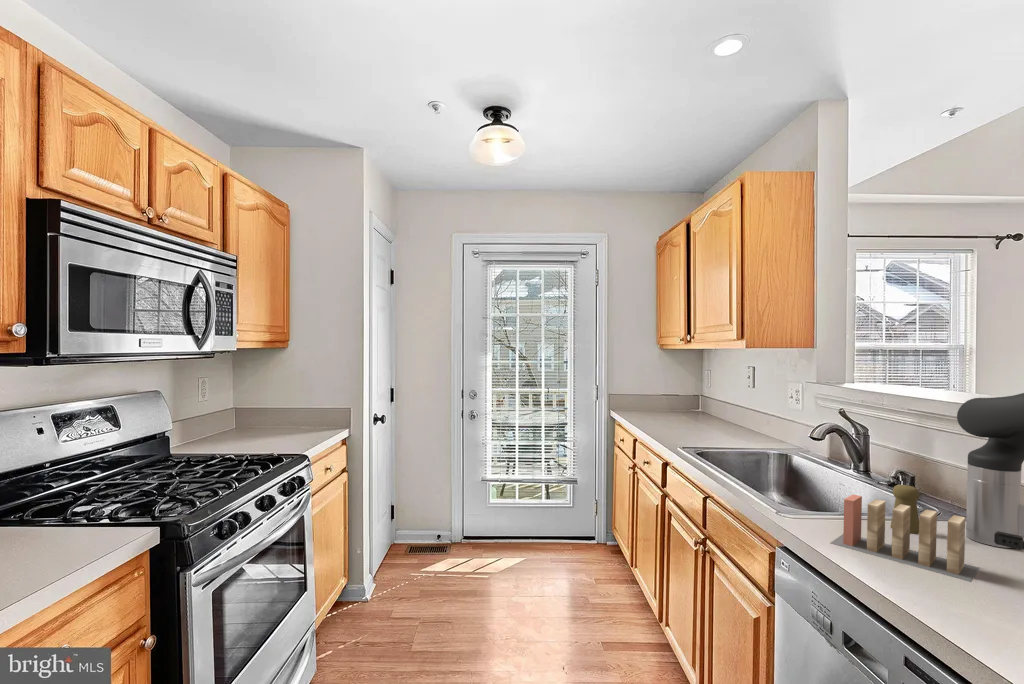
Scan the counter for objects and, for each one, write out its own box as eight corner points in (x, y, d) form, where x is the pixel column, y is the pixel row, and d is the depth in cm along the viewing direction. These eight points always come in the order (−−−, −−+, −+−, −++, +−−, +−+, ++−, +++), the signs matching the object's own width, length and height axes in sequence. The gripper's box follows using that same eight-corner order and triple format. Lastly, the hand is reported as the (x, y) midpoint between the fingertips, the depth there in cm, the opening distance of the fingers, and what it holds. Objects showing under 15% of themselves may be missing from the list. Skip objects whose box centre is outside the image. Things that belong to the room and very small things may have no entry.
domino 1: (861, 539, 119) (861, 496, 119) (852, 546, 115) (853, 501, 115) (851, 537, 120) (852, 494, 120) (843, 543, 116) (844, 499, 116)
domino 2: (884, 546, 116) (885, 501, 116) (876, 552, 112) (877, 506, 112) (874, 543, 117) (875, 499, 117) (866, 550, 113) (867, 504, 113)
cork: (926, 536, 123) (927, 490, 123) (897, 534, 124) (898, 488, 124) (912, 527, 129) (913, 483, 129) (885, 525, 130) (885, 481, 130)
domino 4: (936, 559, 109) (937, 511, 109) (929, 567, 105) (930, 517, 105) (925, 556, 110) (926, 509, 110) (918, 564, 106) (919, 515, 106)
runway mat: (979, 569, 105) (979, 567, 105) (970, 583, 99) (970, 581, 99) (844, 534, 123) (844, 533, 123) (829, 544, 117) (829, 543, 117)
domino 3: (909, 552, 112) (910, 506, 112) (902, 559, 108) (903, 511, 108) (899, 549, 114) (900, 504, 114) (891, 556, 110) (892, 509, 110)
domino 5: (964, 566, 105) (965, 517, 105) (958, 574, 101) (959, 523, 101) (952, 563, 107) (953, 515, 107) (946, 571, 103) (947, 521, 103)
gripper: (1135, 535, 91) (999, 511, 104) (1137, 554, 82) (989, 524, 95) (1134, 578, 91) (999, 548, 104) (1137, 602, 82) (989, 565, 95)
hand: (995, 537), depth 100 cm, fingers closed
